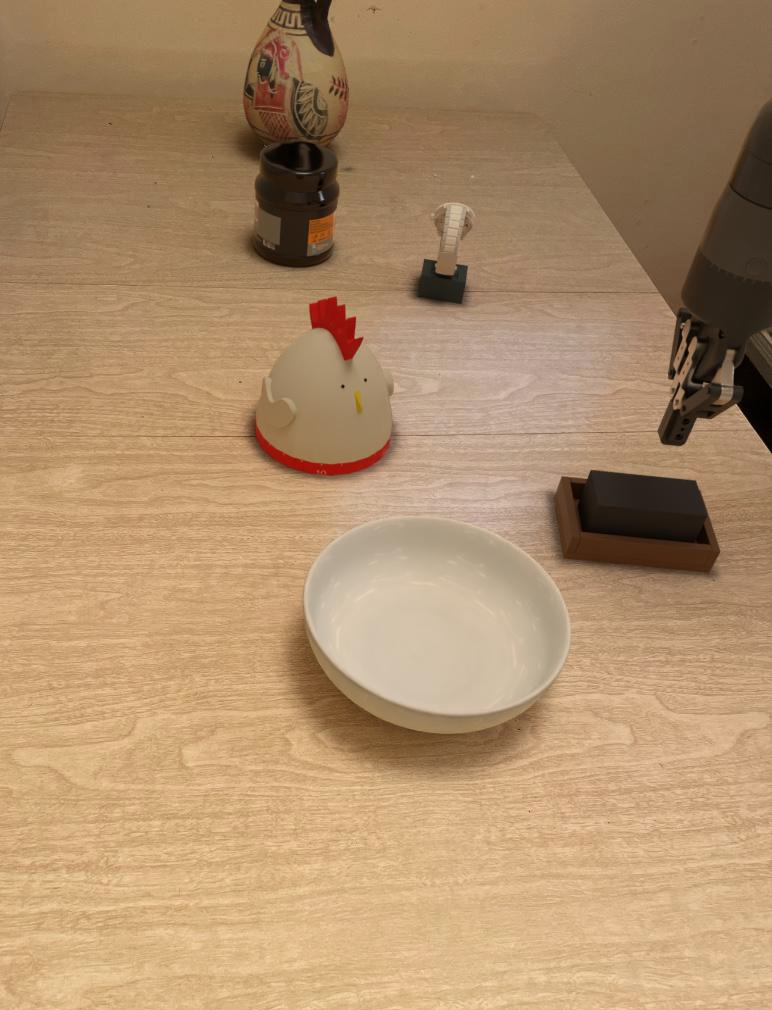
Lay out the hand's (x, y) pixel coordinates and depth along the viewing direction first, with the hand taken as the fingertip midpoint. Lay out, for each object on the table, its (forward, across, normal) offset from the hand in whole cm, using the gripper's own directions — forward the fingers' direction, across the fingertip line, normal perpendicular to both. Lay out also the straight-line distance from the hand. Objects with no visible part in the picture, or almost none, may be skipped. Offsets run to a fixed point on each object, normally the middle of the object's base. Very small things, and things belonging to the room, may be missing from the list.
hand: (669, 439), depth 84 cm
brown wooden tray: (+12, 0, 0) cm, 12 cm away
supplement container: (+12, +49, +36) cm, 62 cm away
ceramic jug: (+12, +79, +38) cm, 88 cm away
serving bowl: (+12, -18, +20) cm, 29 cm away
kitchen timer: (+12, +11, +30) cm, 34 cm away
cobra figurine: (+12, +42, +17) cm, 47 cm away
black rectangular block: (+10, 0, 0) cm, 11 cm away
